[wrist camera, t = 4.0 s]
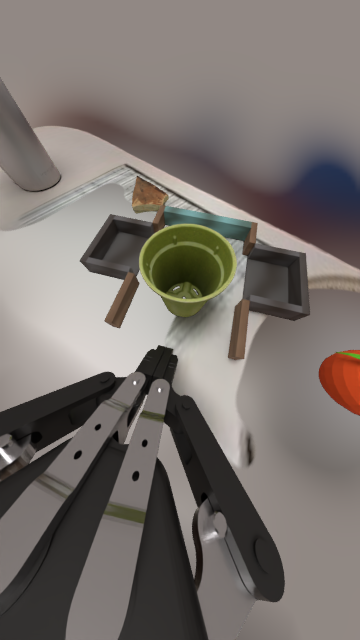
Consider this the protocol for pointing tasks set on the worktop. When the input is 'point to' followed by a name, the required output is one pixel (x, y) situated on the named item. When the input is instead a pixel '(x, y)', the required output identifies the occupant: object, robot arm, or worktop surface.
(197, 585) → the robot arm
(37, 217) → the worktop surface
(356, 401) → the clementine
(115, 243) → the two-trap channel
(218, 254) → the plant pot
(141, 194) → the shard
